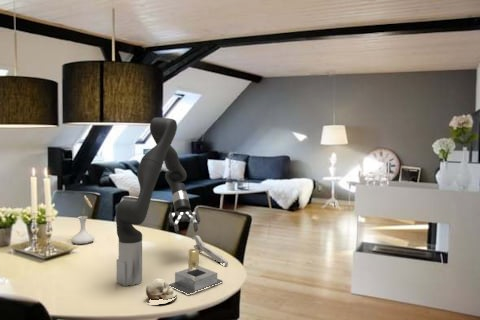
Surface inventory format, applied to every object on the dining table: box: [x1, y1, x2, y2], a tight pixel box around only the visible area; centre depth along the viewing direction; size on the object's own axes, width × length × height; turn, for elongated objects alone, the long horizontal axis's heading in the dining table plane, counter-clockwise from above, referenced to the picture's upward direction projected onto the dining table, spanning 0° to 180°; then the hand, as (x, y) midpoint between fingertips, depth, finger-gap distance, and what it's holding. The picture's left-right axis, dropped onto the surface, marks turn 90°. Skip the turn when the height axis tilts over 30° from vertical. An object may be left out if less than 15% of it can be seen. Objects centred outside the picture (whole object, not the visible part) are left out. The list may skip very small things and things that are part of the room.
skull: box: [145, 278, 178, 302], centre depth 149 cm, size 12×10×10 cm
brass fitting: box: [187, 248, 200, 269], centre depth 176 cm, size 4×4×10 cm
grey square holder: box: [168, 266, 223, 294], centre depth 163 cm, size 18×12×5 cm, turn 137°
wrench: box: [192, 235, 229, 265], centre depth 197 cm, size 8×2×30 cm
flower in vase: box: [71, 195, 95, 245], centre depth 217 cm, size 13×11×25 cm
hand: (187, 231), depth 186 cm, fingers open, 8 cm apart
